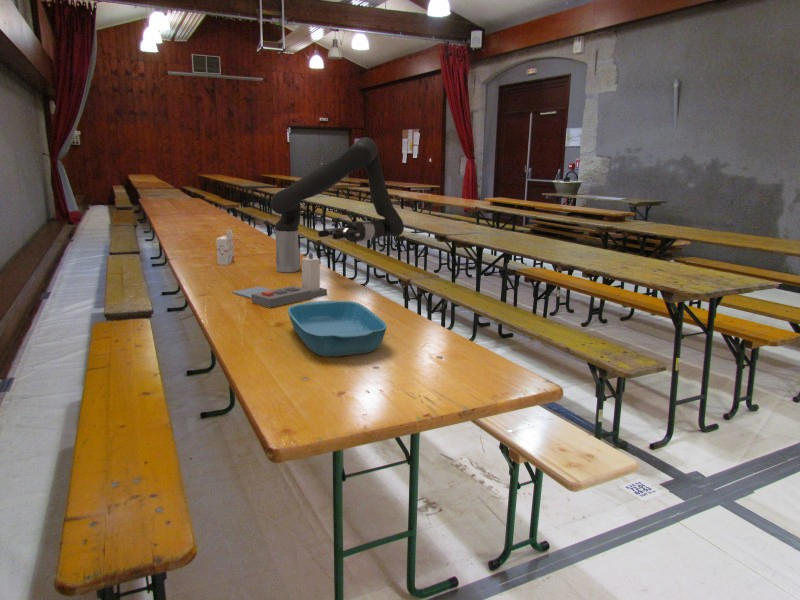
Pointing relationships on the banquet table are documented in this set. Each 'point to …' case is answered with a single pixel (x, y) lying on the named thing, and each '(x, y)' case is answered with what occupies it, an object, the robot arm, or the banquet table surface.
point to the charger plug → (311, 273)
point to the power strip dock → (285, 296)
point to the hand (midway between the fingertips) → (325, 235)
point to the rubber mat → (250, 291)
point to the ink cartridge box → (225, 249)
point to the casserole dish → (337, 327)
